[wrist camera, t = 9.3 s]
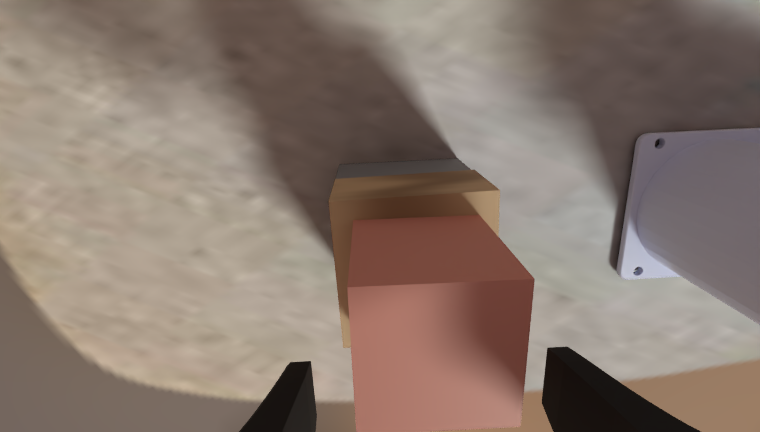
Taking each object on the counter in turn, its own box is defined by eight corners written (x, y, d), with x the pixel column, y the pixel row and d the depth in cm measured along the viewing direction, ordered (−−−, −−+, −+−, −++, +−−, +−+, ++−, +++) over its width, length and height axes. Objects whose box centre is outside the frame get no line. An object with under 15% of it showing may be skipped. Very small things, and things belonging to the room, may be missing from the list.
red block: (479, 214, 15) (534, 279, 10) (474, 324, 16) (520, 426, 11) (353, 219, 15) (347, 287, 10) (359, 329, 16) (356, 435, 11)
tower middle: (474, 169, 18) (499, 190, 14) (472, 293, 20) (495, 336, 16) (335, 178, 18) (328, 201, 14) (346, 302, 19) (343, 347, 16)
